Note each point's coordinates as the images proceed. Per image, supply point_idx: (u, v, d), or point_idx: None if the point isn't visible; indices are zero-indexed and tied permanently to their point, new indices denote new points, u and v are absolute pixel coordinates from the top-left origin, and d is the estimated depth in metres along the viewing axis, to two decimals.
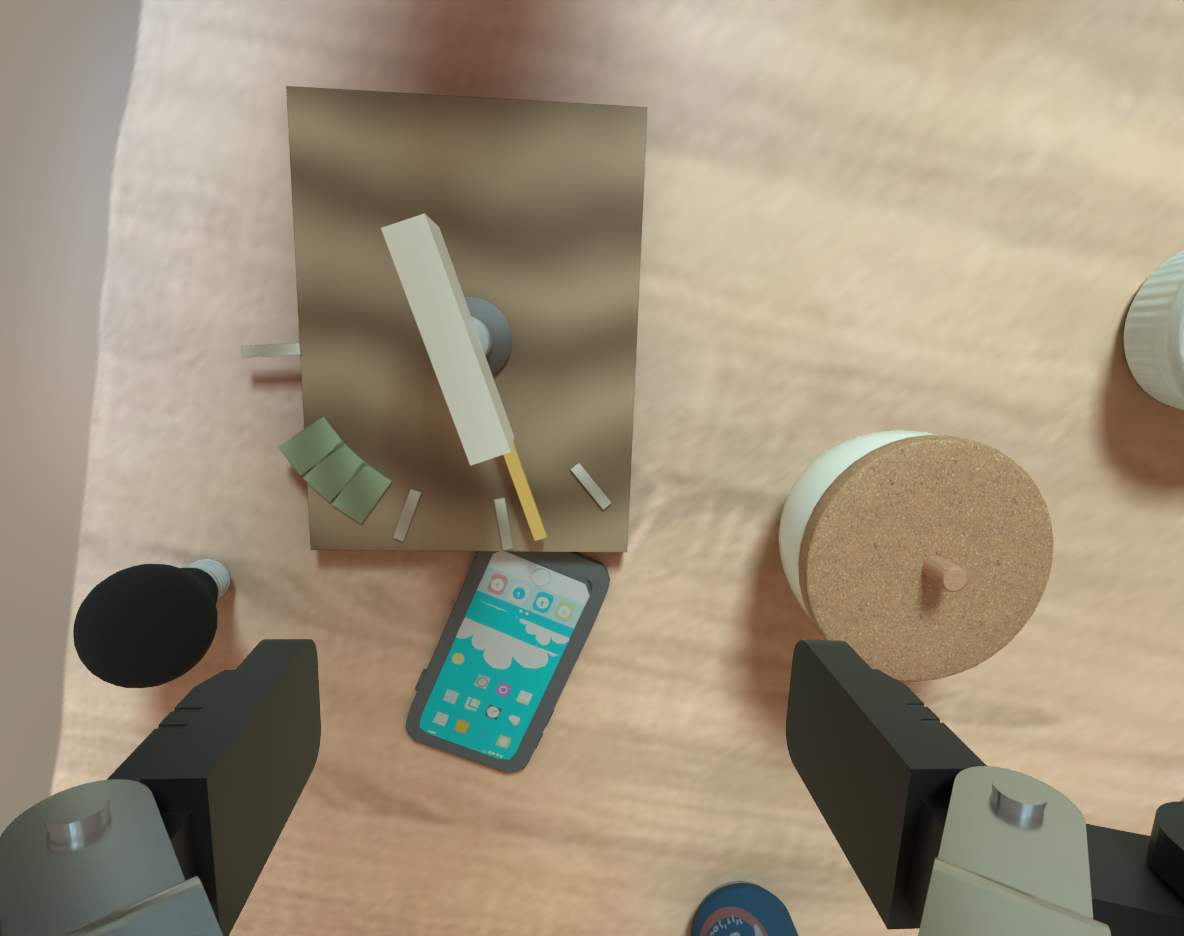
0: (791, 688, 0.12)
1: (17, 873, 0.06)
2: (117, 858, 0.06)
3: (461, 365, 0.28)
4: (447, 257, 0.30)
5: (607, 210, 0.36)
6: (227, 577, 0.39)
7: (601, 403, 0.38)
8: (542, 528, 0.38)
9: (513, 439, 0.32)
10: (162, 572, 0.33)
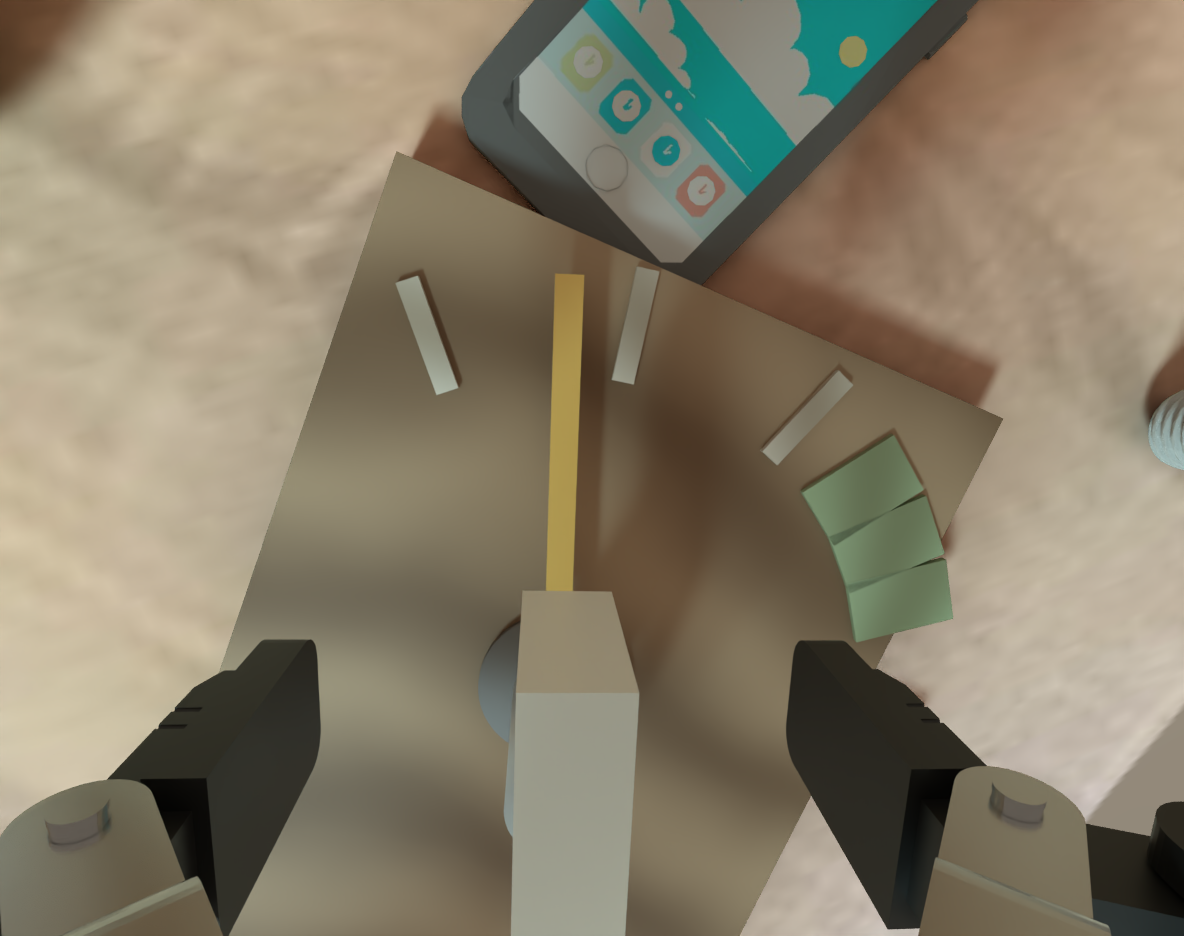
0: (791, 688, 0.12)
1: (17, 873, 0.06)
2: (116, 858, 0.06)
3: (553, 929, 0.11)
4: None
5: None
6: (1160, 420, 0.20)
7: (353, 493, 0.19)
8: (557, 296, 0.17)
9: (521, 609, 0.13)
10: None
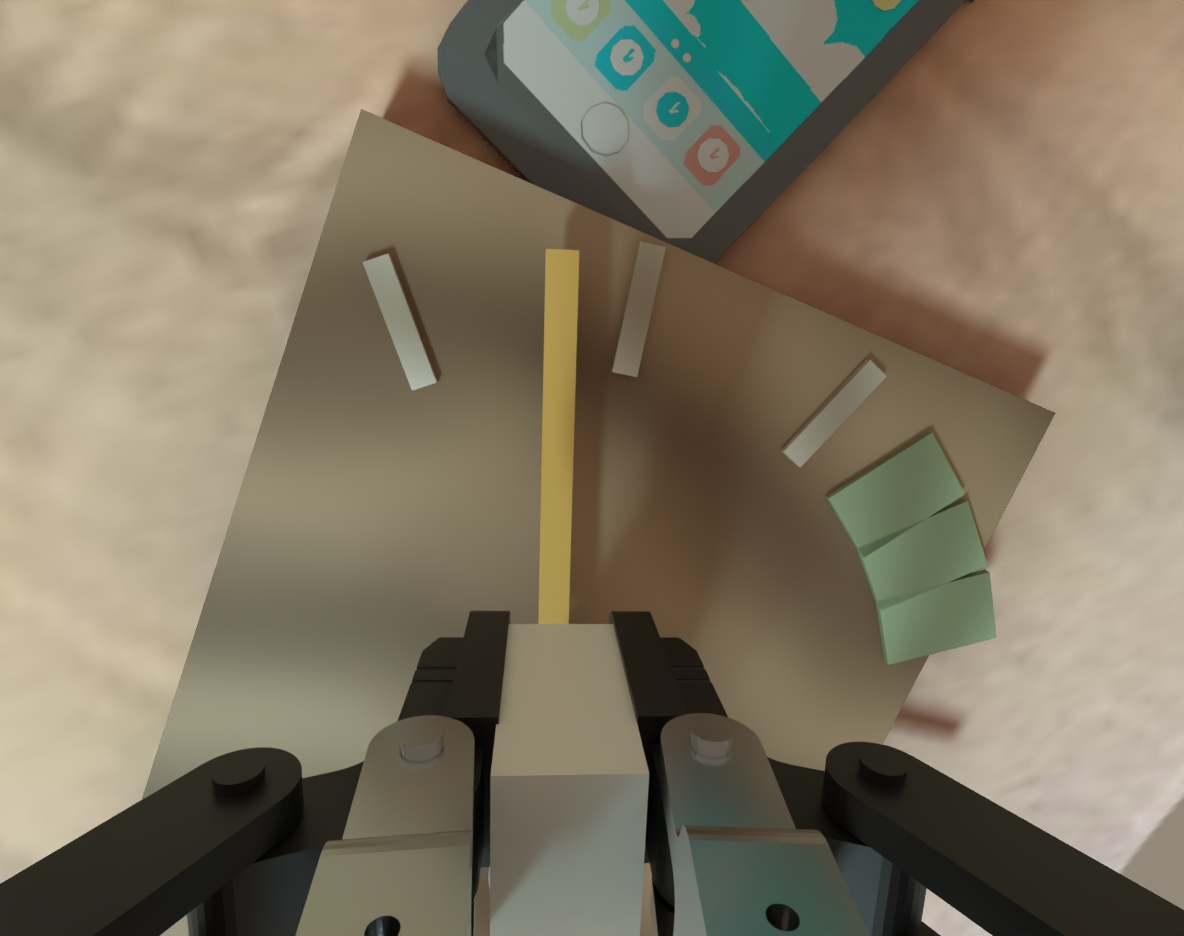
0: None
1: (372, 772, 0.07)
2: (474, 773, 0.07)
3: None
4: None
5: None
6: None
7: (319, 503, 0.17)
8: (548, 276, 0.15)
9: None
10: None
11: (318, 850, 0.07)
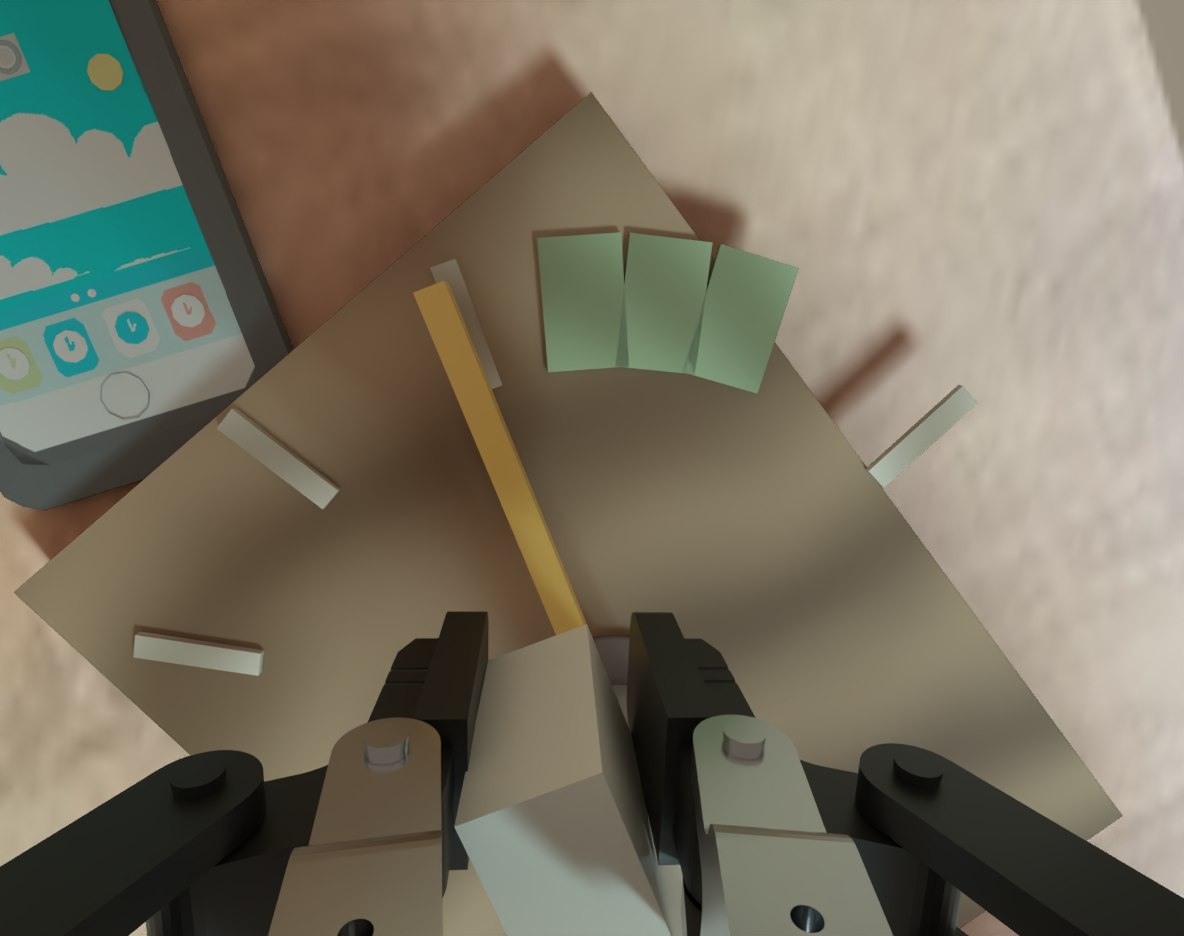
0: None
1: (337, 776, 0.07)
2: (437, 776, 0.07)
3: None
4: None
5: None
6: None
7: None
8: (426, 316, 0.15)
9: (482, 688, 0.11)
10: None
11: (277, 854, 0.07)
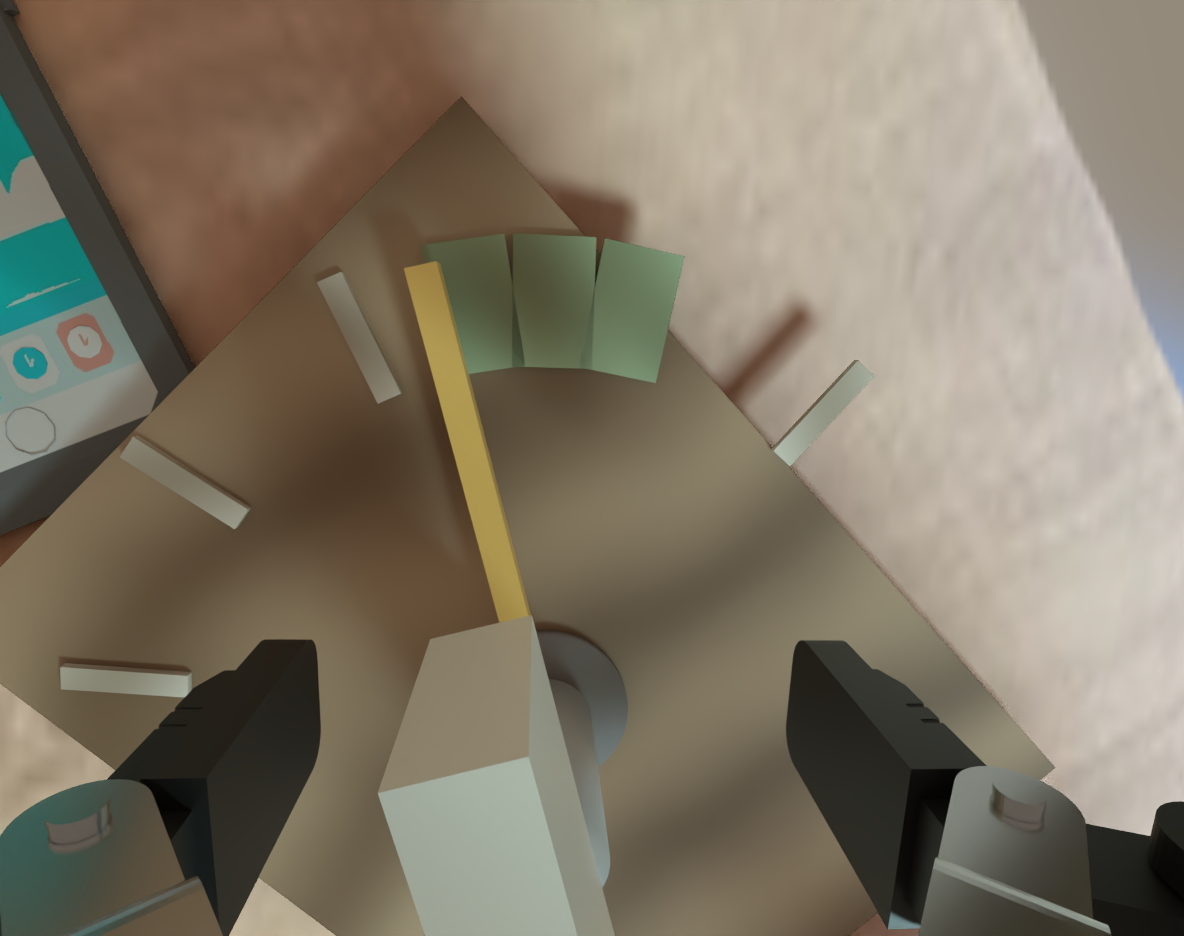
0: (791, 688, 0.12)
1: (17, 873, 0.06)
2: (117, 858, 0.06)
3: None
4: None
5: None
6: None
7: None
8: (413, 293, 0.15)
9: (421, 665, 0.11)
10: None
11: None
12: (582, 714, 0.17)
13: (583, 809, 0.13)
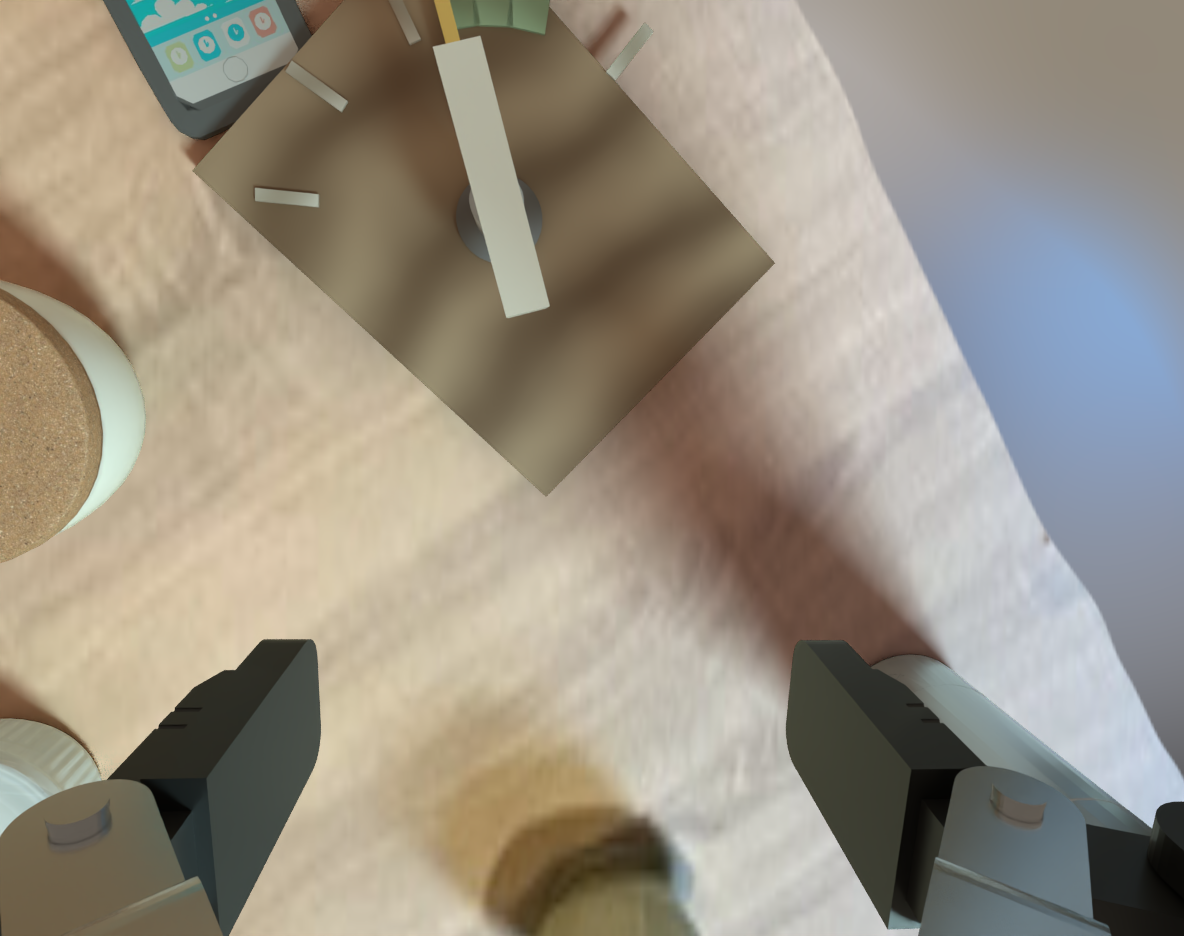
0: (791, 688, 0.12)
1: (17, 873, 0.06)
2: (117, 858, 0.06)
3: (481, 157, 0.26)
4: None
5: (502, 410, 0.38)
6: None
7: (355, 274, 0.36)
8: None
9: None
10: None
11: None
12: None
13: None
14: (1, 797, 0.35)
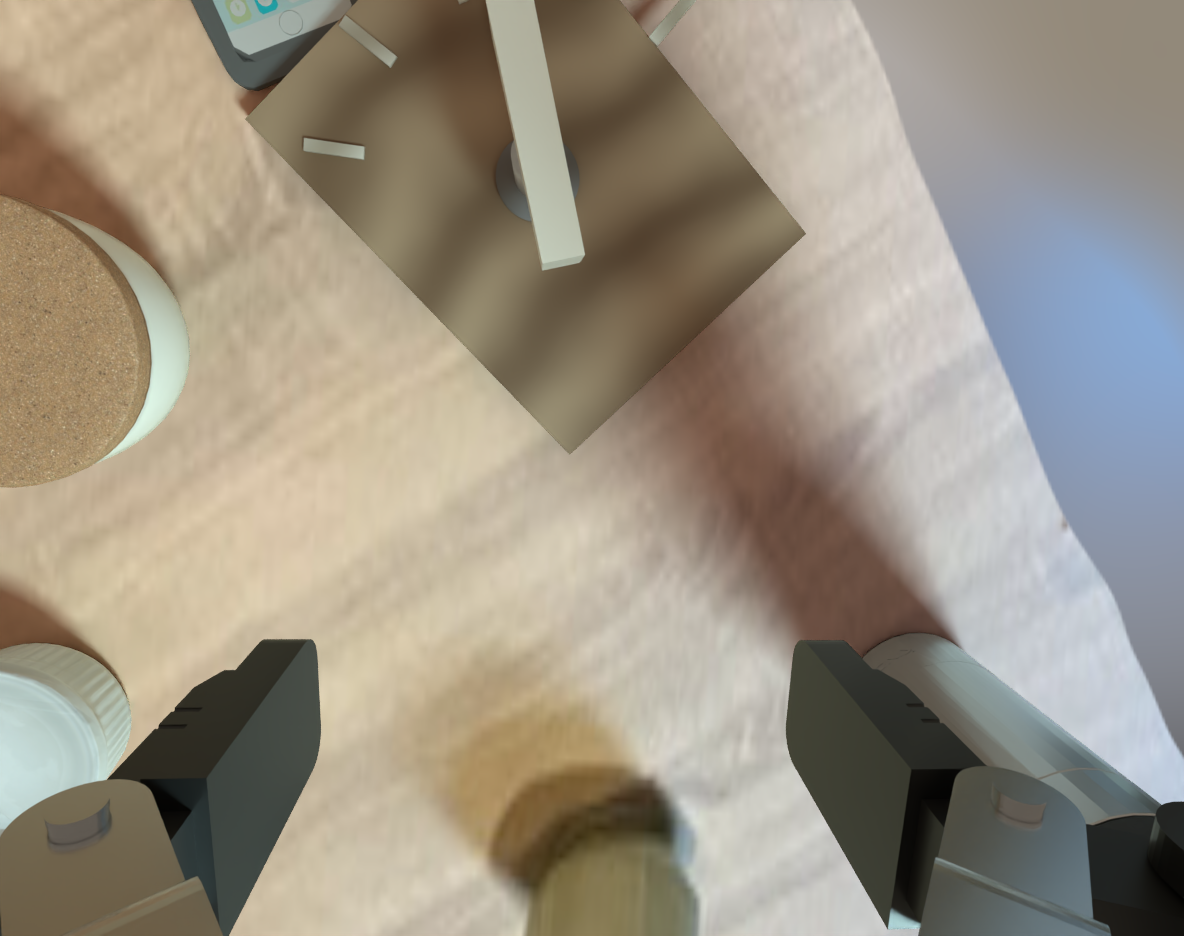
0: (791, 688, 0.12)
1: (17, 873, 0.06)
2: (117, 858, 0.06)
3: (525, 105, 0.27)
4: (534, 234, 0.31)
5: (531, 367, 0.39)
6: None
7: (396, 226, 0.37)
8: None
9: None
10: None
11: None
12: None
13: None
14: (37, 714, 0.37)
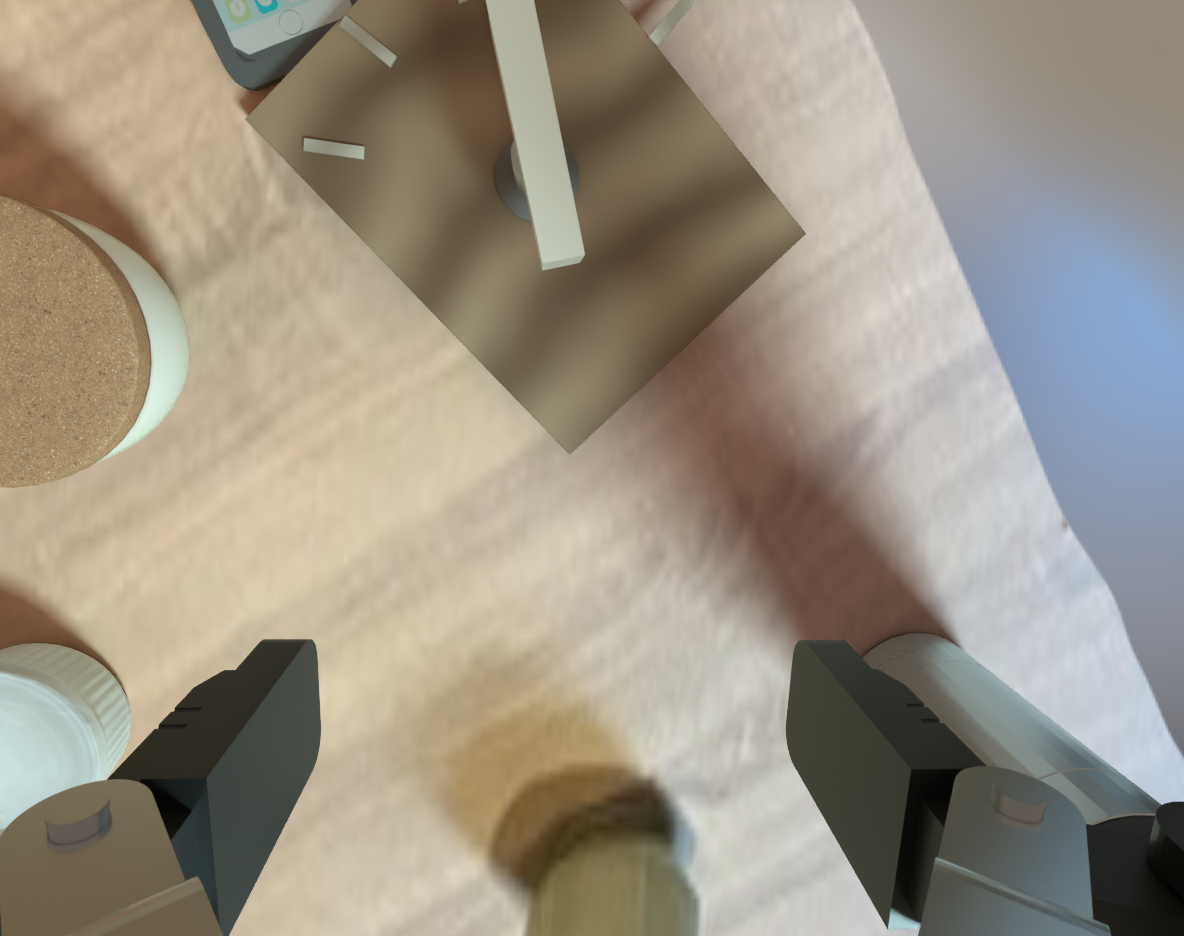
0: (791, 688, 0.12)
1: (17, 873, 0.06)
2: (117, 858, 0.06)
3: (525, 105, 0.27)
4: (534, 234, 0.31)
5: (531, 367, 0.39)
6: None
7: (396, 226, 0.37)
8: None
9: None
10: None
11: None
12: None
13: None
14: (37, 714, 0.37)
